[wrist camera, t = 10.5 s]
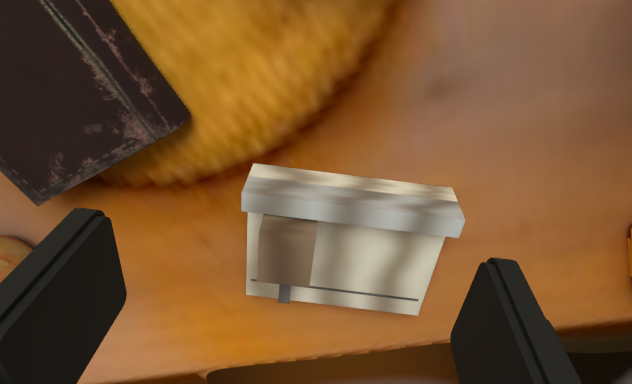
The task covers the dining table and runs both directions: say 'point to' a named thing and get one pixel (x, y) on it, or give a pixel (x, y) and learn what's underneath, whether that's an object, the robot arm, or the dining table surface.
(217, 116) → the dining table surface
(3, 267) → the onion
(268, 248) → the block
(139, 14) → the dining table surface
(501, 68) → the dining table surface
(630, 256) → the bracket
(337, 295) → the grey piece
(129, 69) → the diary
